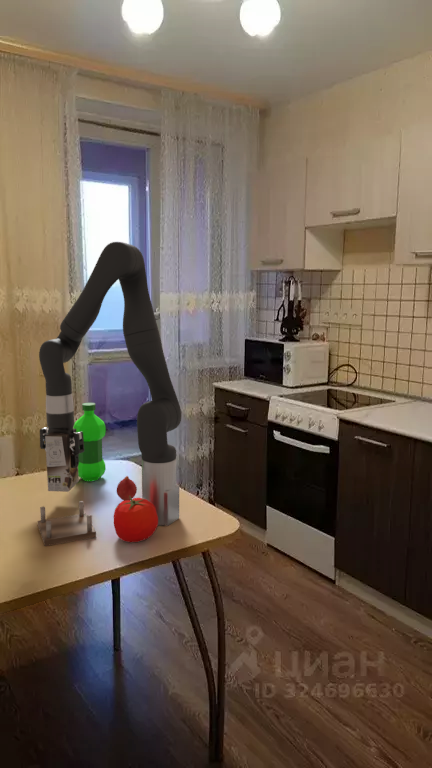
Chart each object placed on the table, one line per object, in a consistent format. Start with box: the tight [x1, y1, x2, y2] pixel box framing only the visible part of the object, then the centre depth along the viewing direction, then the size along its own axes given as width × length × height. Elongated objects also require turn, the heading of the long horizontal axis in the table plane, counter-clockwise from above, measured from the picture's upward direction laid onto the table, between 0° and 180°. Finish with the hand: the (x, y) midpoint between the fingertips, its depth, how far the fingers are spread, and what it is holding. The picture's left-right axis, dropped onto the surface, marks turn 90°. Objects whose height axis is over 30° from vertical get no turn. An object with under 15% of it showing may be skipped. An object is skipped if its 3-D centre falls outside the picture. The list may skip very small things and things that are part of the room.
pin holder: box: [37, 500, 97, 547], centre depth 148 cm, size 13×13×6 cm
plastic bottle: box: [73, 402, 107, 482], centre depth 186 cm, size 10×10×25 cm
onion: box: [116, 475, 138, 501], centre depth 168 cm, size 6×6×8 cm
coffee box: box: [44, 429, 80, 493], centre depth 164 cm, size 9×6×16 cm
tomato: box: [112, 496, 159, 543], centre depth 144 cm, size 12×12×10 cm
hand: (62, 465), depth 164 cm, fingers closed on coffee box, 8 cm apart
